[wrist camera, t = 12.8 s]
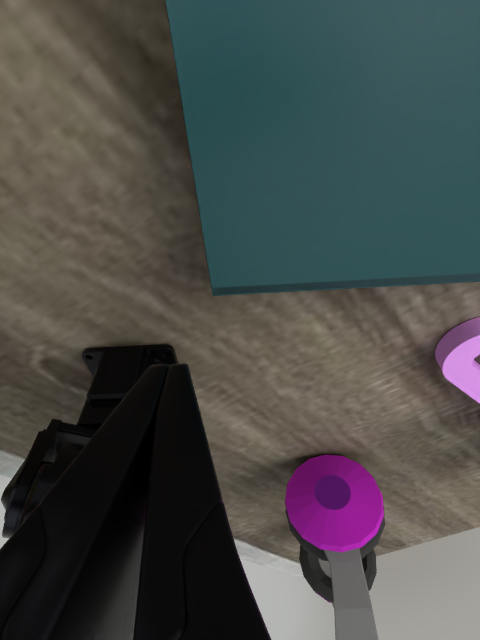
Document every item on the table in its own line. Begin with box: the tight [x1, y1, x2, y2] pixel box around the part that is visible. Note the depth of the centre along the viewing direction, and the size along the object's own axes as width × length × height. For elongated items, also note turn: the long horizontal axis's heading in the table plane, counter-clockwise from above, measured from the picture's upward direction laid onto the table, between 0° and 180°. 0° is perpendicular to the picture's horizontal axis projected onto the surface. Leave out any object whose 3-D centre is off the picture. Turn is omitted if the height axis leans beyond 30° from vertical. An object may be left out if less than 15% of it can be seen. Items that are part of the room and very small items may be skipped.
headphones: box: [285, 455, 385, 640], centre depth 35 cm, size 21×9×20 cm, turn 11°
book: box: [165, 0, 480, 296], centre depth 14 cm, size 17×22×3 cm
